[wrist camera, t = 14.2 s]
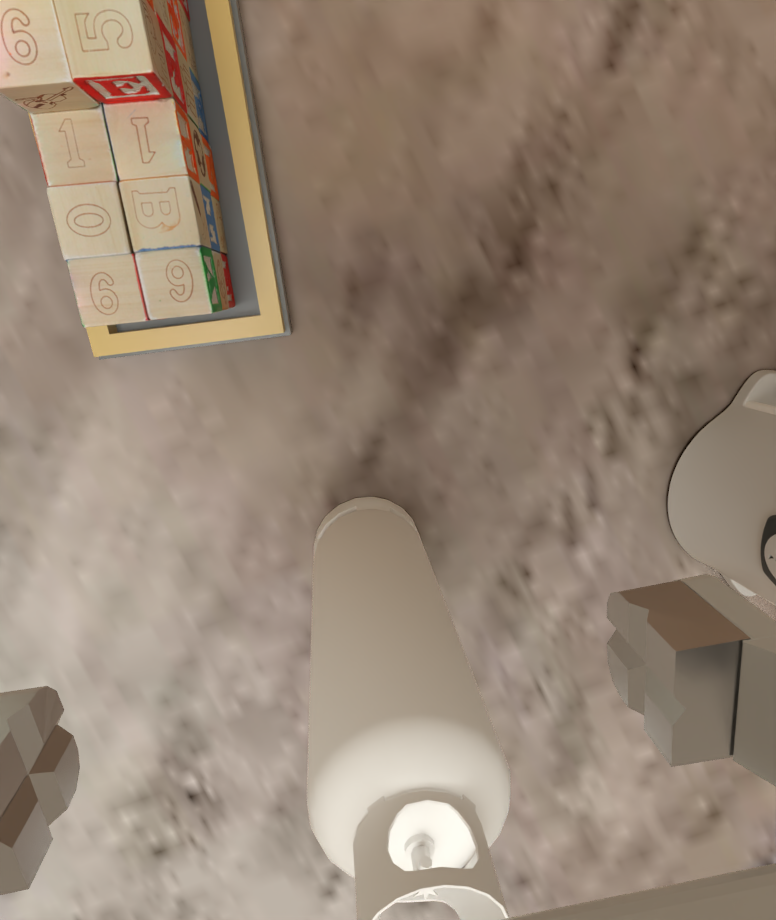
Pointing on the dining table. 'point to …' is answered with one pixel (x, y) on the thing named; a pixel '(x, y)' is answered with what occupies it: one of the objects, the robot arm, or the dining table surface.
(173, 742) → the dining table surface
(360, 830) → the bottle
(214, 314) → the yellow and grey tray
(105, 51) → the stack of blocks
